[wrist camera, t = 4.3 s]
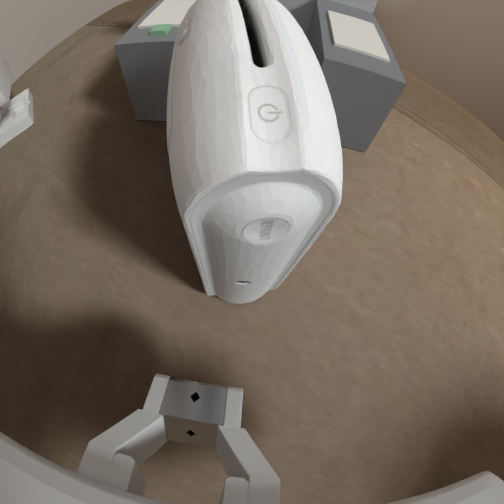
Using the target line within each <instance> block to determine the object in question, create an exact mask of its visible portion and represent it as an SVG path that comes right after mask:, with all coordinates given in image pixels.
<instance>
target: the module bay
mask: <svg viewBox="0 0 504 504" xmlns="http://www.w3.org/2000/svg"><path fill="white" fill-rule="evenodd" d="M195 1H197V0H159V1H158V2H157V3H155V4H154V5H153V6H152V7H151V8H150V9H149V10H148V11H147V12H146V13H145V14H144V15H143V16H142V17H141V18H140V19H139V20H138V21H137V22H136V23H135V24H134V25H133V26H132V27H131V28H130V29H129V30H128V31H127V32H126V33H125V34H124V35H123V36H122V37H121V38H120V40H119V41H118V42H117V43H116V44H115V48H116V52H117V56H118V59H119V63H120V67H121V70H122V74H123V77H124V81H125V84H126V88H127V91H128V95H129V98H130V101H131V105H132V108H133V111H134V114H135V118H136V120H154V121H167V96H168V83H169V73H170V66H171V60H172V54H173V48H174V44H175V40H176V35H177V32H178V29H179V26H180V24H181V22H182V20H183V19H184V17H185V15H186V13H187V11H188V10H189V8H190V7H191V6H192V5H193V4H194V3H195ZM277 1H279V2H280V3H281V4H282V5H283V6H284V7H285V8H286V9H287V10H288V11H289V12H290V13H291V15H292V16H293V17H294V18H295V20H296V21H297V22H298V24H299V25H300V27H301V28H302V30H303V32H304V34H305V36H306V37H307V39H308V41H309V43H310V45H311V47H312V49H313V51H314V53H315V55H316V57H317V60H318V62H319V64H320V67H321V69H322V72H323V74H324V77H325V80H326V83H327V86H328V89H329V92H330V96H331V99H332V103H333V107H334V110H335V114H336V119H337V125H338V130H339V135H340V141H341V146H342V147H346V148H350V149H354V150H358V151H362V152H365V151H366V150H367V148H368V147H369V145H370V143H371V142H372V140H373V139H374V137H375V135H376V134H377V132H378V130H379V129H380V127H381V125H382V124H383V122H384V121H385V119H386V117H387V116H388V114H389V112H390V111H391V109H392V107H393V106H394V104H395V102H396V100H397V99H398V97H399V95H400V94H401V92H402V90H403V89H404V87H405V85H406V82H405V80H404V77H403V75H402V73H401V70H400V68H399V66H398V63H397V61H396V59H395V56H394V54H393V52H392V50H391V48H390V46H389V44H388V42H387V40H386V38H385V36H384V34H383V32H382V30H381V28H380V26H379V24H378V22H377V20H376V18H375V17H374V15H373V11H374V9H375V6H376V3H377V1H378V0H277Z"/></svg>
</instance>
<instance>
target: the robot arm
mask: <svg viewBox="0 0 504 504" xmlns="http://www.w3.org/2000/svg"><path fill="white" fill-rule="evenodd" d="M242 400H243V388H236V387H228V386H224V385H216V384H210V383H203V382H194V381H189V380H185V379H180V378H176V377H171V376H167V375H162V374H158V373H156V375H155V376H154V378H153V381H152V384H151V387H150V389H149V392H148V395H147V398H146V401H145V404H144V406H143V409H142V410H141V409H137V410H136V411H135V412H133V413H132V414H130V415H129V416H127V417H126V418H124V419H123V420H121V421H120V422H118V423H117V424H115V425H114V426H112V427H111V428H109V429H108V430H106V431H105V432H103V433H102V434H100V435H99V436H97V437H95V438H94V439H92V440H91V441H89V443H88V446H87V448H86V451H85V453H84V455H83V458H82V460H81V463H80V466H79V468H78V471H77V473H75V472H73V471H71V470H69V469H66V468H64V467H62V466H60V465H58V464H56V463H54V462H52V461H50V460H48V459H46V458H44V457H42V456H40V455H38V454H37V453H35V452H33V451H31V450H29V449H28V448H26V447H24V446H22V445H21V444H19V443H18V442H16V441H14V440H13V439H11V438H9V437H8V436H6V435H5V434H3V433H2V432H0V504H172V503H168V502H163V501H159V500H155V499H151V498H147V497H143V495H144V491H145V486H146V483H145V481H144V479H143V477H142V475H141V473H140V471H139V469H138V467H139V466H140V465H142V464H143V463H144V462H145V461H146V460H147V459H148V458H149V457H151V456H152V455H153V454H154V453H155V452H156V451H157V450H158V449H159V448H161V447H162V446H163V445H164V444H165V443H166V442H167V440H170V441H175V442H180V443H186V444H192V445H197V446H202V447H208V448H213V449H215V451H216V453H217V455H218V457H219V459H220V461H221V463H222V465H223V466H224V468H225V470H226V472H227V474H228V476H229V478H228V479H226V481H225V484H224V488H223V491H222V495H221V498H220V504H280V478H279V477H278V476H277V474H276V473H275V472H274V470H273V469H272V467H271V466H270V465H269V463H268V462H267V460H266V459H265V458H264V456H263V455H262V453H261V452H260V450H259V449H258V448H257V446H256V445H255V443H254V442H253V440H252V439H251V437H250V436H249V434H248V433H247V431H246V430H245V429H244V428H240V427H241V414H242ZM386 504H504V481H503V480H502V479H500V478H499V477H498V476H496V475H495V474H493V473H491V472H490V471H483V472H480V473H478V474H476V475H473V476H471V477H469V478H466V479H464V480H461V481H459V482H456V483H454V484H451V485H448V486H445V487H443V488H440V489H437V490H434V491H431V492H428V493H424V494H421V495H418V496H414V497H410V498H407V499H403V500H399V501H395V502H390V503H386Z"/></svg>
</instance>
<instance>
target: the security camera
mask: <svg viewBox="0 0 504 504" xmlns="http://www.w3.org/2000/svg"><path fill="white" fill-rule="evenodd" d="M12 78H13V76H12V72H11V70H10V68H9V66H8V64H7V62H6V60H5V58H4V56H3V54H2V52H1V50H0V148H1V147H2V146H3V145H5V144H6V143H7V142H9V141H10V140H11V139H13V138H14V137H15V136H17V135H18V134H20V133H21V132H22V131H24V130H25V129H27V128H28V127H30V126H31V125H32V124H33V123H34V119H33V96H32V94H31V93H30V91H29V89H26V90H25V91H23V92H22V93H20V94H19V95H17V96H16V97H14V98H13V99H11V100H10V92H11V85H12Z"/></svg>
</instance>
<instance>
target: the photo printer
mask: <svg viewBox="0 0 504 504" xmlns="http://www.w3.org/2000/svg"><path fill="white" fill-rule="evenodd" d="M167 148H168V154H169V163H170V171H171V178H172V184H173V189H174V194H175V198H176V202H177V206H178V210H179V213H180V216H181V219H182V222H183V225H184V229H185V232H186V235H187V238H188V241H189V244H190V247H191V250H192V253H193V256H194V259H195V262H196V264H197V267H198V271H199V274H200V276H201V279H202V283H203V286H204V289H205V291H206V293H207V295H208V296H212V295H216V296H217V297H219V298H220V299H222V300H224V301H226V302H230V303H236V304H241V303H249V302H252V301H254V300H257V299H258V298H260V297H261V296H263V295H264V294H265V293H266V292H267V291H268V290H275V289H276V288H277V287H278V286H279V285H280V284H281V283H282V282H283V281H284V279H285V278H286V277H287V276H288V274H289V273H290V272H291V271H292V269H293V268H294V267H295V266H296V264H297V263H298V262H299V261H300V259H301V258H302V257H303V255H304V254H305V253H306V252H307V251H308V249H309V248H310V247H311V245H312V244H313V243H314V242H315V240H316V239H317V237H318V236H319V235H320V233H321V232H322V231H323V229H324V228H325V226H326V225H327V224H328V223H329V221H330V220H331V219H332V217H333V216H334V215H335V213H336V211H337V209H338V207H339V205H340V203H341V196H342V179H343V172H342V167H343V162H342V149H341V141H340V135H339V130H338V125H337V119H336V114H335V110H334V107H333V103H332V99H331V96H330V92H329V89H328V86H327V83H326V80H325V77H324V74H323V72H322V69H321V67H320V64H319V62H318V60H317V57H316V55H315V53H314V51H313V49H312V47H311V45H310V43H309V41H308V39H307V37H306V36H305V34H304V32H303V30H302V28H301V27H300V25H299V24H298V22H297V21H296V20H295V18H294V17H293V16H292V15H291V13H290V12H289V11H288V10H287V9H286V8H285V7H284V6H283V5H282V4H281V3H280V2H279V1H277V0H197V1H195V3H194V4H193V5H192V6H191V7H190V8H189V10H188V11H187V13H186V15H185V17H184V19H183V20H182V22H181V24H180V26H179V29H178V32H177V35H176V40H175V44H174V48H173V54H172V60H171V66H170V73H169V83H168V96H167Z"/></svg>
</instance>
